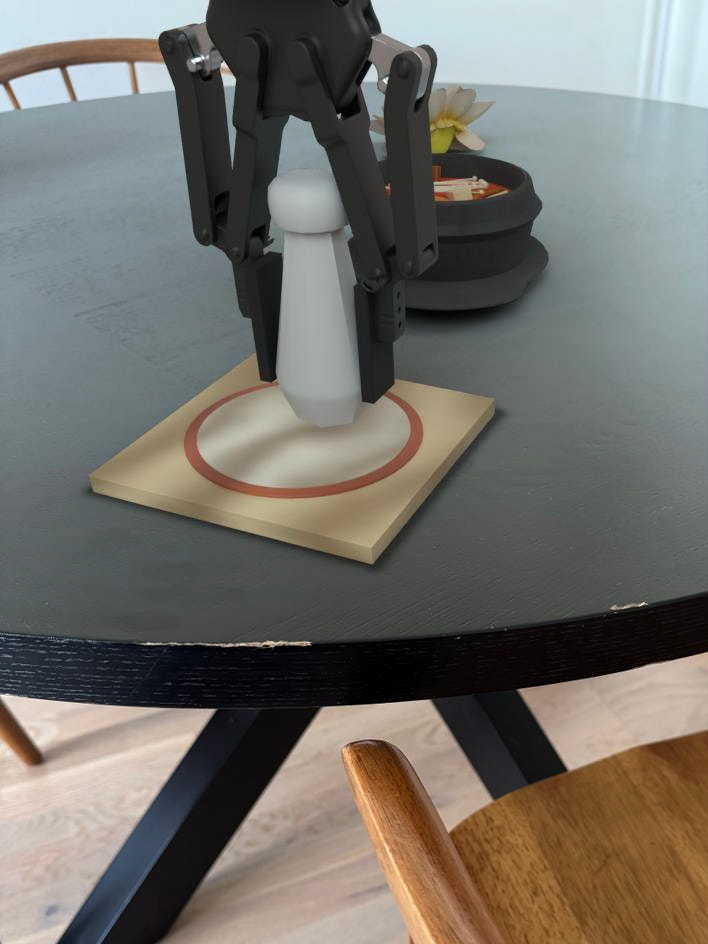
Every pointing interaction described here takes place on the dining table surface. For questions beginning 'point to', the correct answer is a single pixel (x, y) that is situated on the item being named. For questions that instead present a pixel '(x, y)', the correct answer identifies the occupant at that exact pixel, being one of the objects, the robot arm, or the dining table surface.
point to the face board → (298, 462)
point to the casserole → (475, 235)
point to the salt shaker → (316, 300)
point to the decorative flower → (449, 119)
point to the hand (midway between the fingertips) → (327, 381)
